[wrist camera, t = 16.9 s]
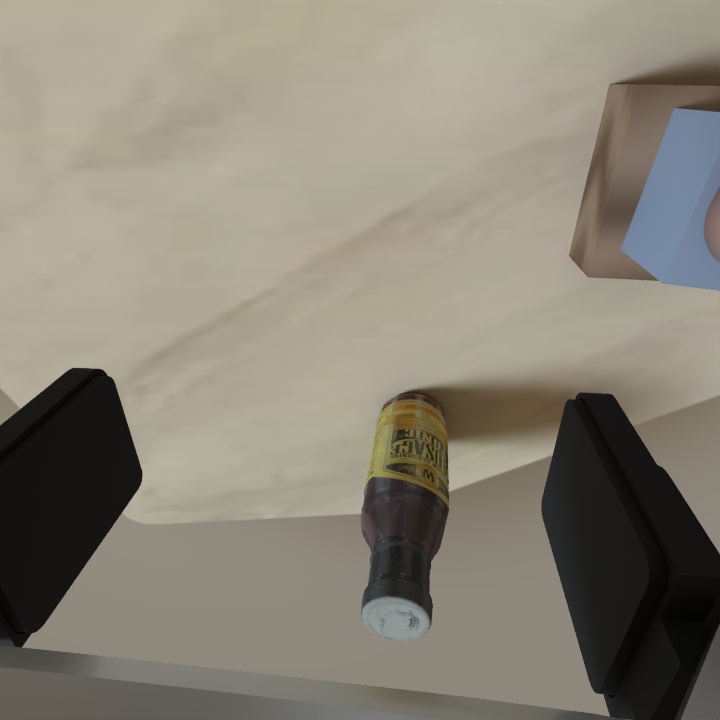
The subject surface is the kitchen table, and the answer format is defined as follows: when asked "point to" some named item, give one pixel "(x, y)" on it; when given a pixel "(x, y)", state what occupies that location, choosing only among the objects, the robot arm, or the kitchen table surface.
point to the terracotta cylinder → (713, 227)
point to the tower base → (626, 171)
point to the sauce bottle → (404, 515)
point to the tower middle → (679, 204)
